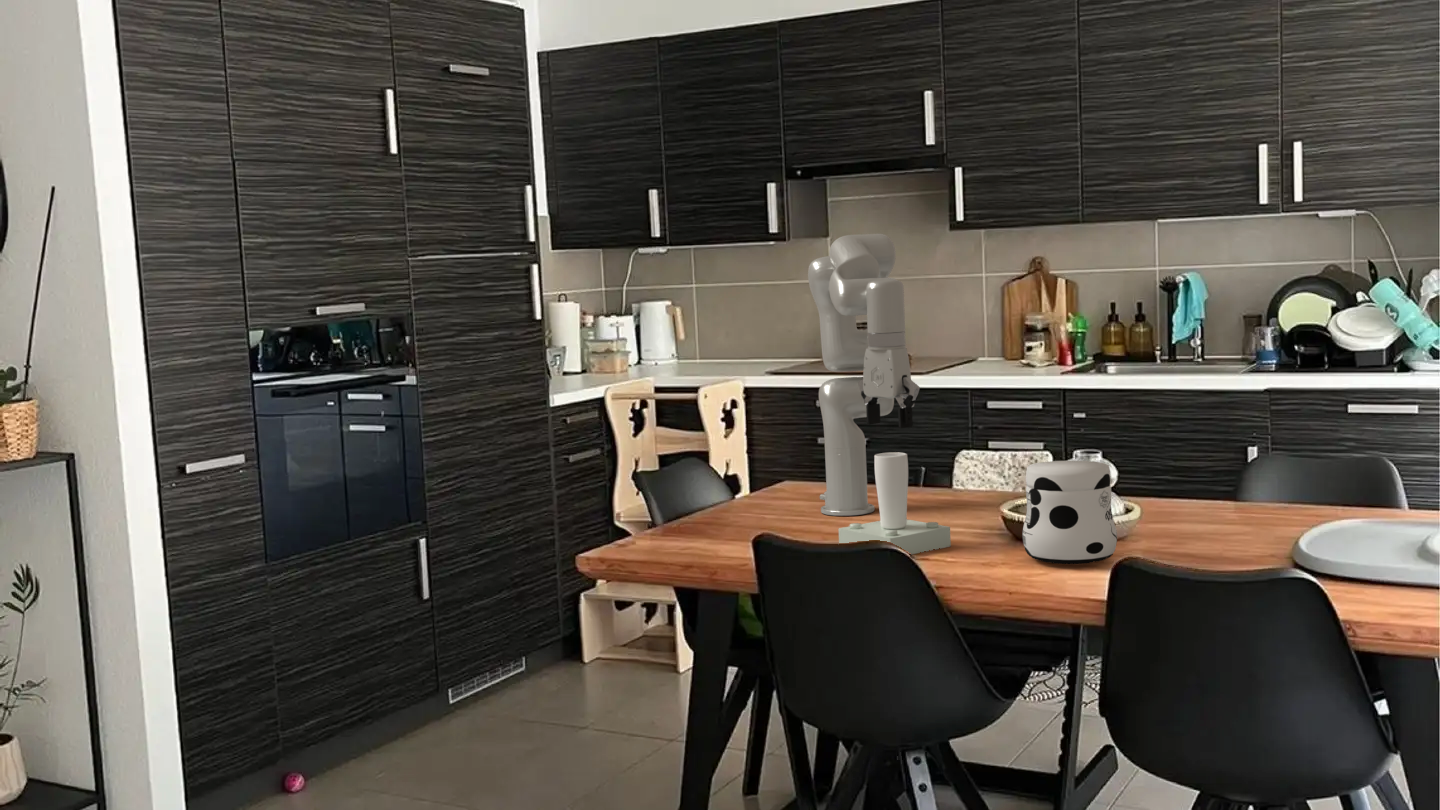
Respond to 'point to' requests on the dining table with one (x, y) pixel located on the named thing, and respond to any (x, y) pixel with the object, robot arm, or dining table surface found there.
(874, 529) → the brick riser
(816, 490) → the dining table surface
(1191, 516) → the dining table surface
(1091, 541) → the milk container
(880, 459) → the drinking glass
